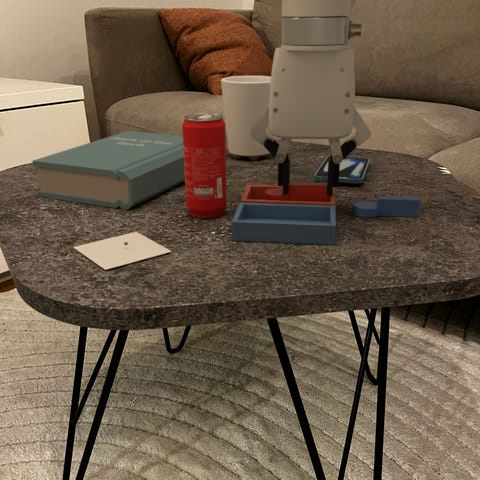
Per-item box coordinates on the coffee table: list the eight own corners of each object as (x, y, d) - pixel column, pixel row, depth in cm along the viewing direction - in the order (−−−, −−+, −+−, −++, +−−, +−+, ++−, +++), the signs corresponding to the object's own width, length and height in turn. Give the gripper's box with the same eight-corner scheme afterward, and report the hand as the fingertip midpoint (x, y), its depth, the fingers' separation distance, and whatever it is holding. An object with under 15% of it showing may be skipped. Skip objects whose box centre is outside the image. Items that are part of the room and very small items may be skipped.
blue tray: (334, 223, 73) (335, 205, 72) (334, 245, 66) (336, 225, 65) (239, 220, 74) (239, 202, 73) (231, 240, 68) (231, 221, 67)
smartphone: (370, 158, 99) (363, 179, 86) (370, 164, 99) (362, 186, 86) (326, 155, 101) (312, 176, 88) (326, 161, 101) (312, 182, 88)
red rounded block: (328, 196, 77) (329, 180, 76) (328, 204, 74) (329, 187, 73) (266, 196, 79) (266, 180, 77) (263, 204, 76) (263, 187, 74)
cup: (267, 164, 99) (269, 83, 93) (213, 160, 102) (211, 81, 96) (285, 152, 107) (287, 76, 101) (234, 148, 110) (233, 74, 104)
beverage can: (180, 216, 75) (174, 118, 70) (197, 205, 80) (193, 112, 74) (217, 221, 74) (214, 121, 68) (232, 209, 78) (231, 114, 72)
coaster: (72, 247, 66) (71, 240, 66) (136, 231, 70) (135, 225, 70) (105, 269, 60) (104, 262, 60) (171, 251, 65) (171, 244, 64)
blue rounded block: (416, 211, 77) (418, 194, 76) (419, 219, 74) (422, 202, 73) (352, 209, 78) (353, 192, 77) (353, 217, 75) (354, 200, 74)
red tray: (333, 204, 80) (334, 187, 79) (333, 221, 73) (335, 203, 72) (247, 201, 81) (247, 184, 80) (240, 218, 75) (240, 200, 74)
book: (129, 161, 102) (127, 131, 99) (212, 170, 96) (211, 138, 93) (38, 196, 84) (32, 160, 81) (133, 210, 78) (129, 172, 75)
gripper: (387, 32, 69) (373, 185, 78) (244, 33, 71) (245, 182, 80) (394, 36, 63) (377, 202, 71) (235, 37, 65) (238, 199, 73)
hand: (307, 190), depth 76 cm, fingers closed on red rounded block, 4 cm apart
